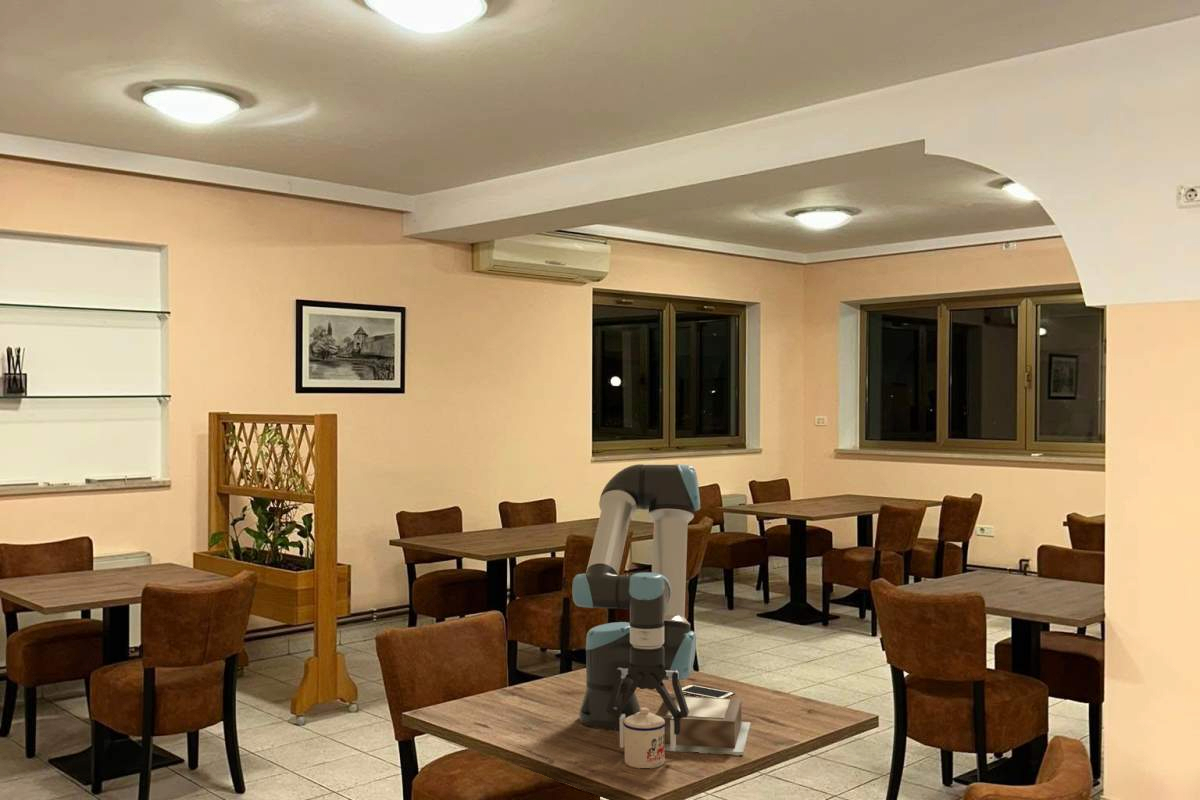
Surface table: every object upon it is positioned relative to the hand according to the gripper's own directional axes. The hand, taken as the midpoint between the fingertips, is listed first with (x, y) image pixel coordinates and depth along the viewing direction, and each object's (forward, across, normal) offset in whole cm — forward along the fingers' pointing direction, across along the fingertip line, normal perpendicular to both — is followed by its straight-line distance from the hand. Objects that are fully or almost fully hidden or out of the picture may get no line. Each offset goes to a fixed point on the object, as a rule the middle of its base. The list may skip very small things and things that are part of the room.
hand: (647, 747), depth 228 cm
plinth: (+3, +9, +18) cm, 20 cm away
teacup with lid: (+3, 0, 0) cm, 3 cm away
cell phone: (+3, +6, +55) cm, 55 cm away
